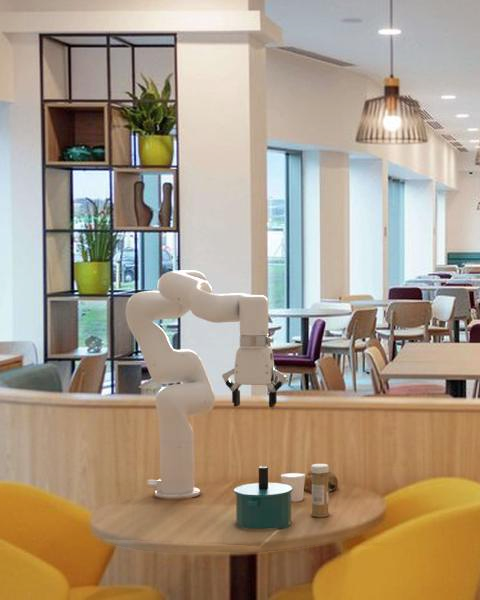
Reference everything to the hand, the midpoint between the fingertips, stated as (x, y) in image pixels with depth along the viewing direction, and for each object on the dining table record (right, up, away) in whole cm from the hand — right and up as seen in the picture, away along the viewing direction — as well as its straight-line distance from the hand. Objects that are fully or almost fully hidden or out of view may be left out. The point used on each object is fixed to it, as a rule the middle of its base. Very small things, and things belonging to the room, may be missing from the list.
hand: (254, 406), depth 282 cm
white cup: (+9, -28, +16) cm, 33 cm away
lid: (+4, -20, -12) cm, 24 cm away
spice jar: (+18, -29, -3) cm, 34 cm away
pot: (+4, -29, -12) cm, 31 cm away
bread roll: (+15, -27, +29) cm, 43 cm away
